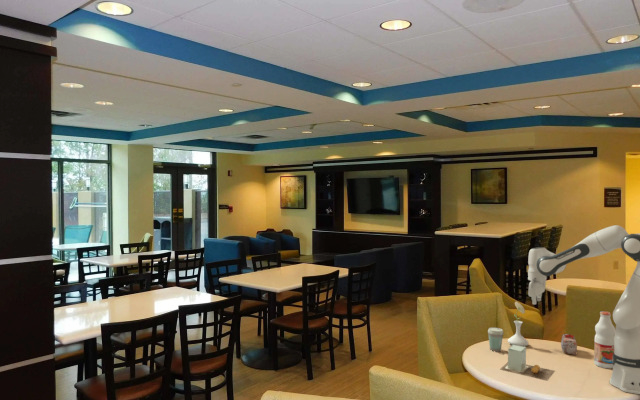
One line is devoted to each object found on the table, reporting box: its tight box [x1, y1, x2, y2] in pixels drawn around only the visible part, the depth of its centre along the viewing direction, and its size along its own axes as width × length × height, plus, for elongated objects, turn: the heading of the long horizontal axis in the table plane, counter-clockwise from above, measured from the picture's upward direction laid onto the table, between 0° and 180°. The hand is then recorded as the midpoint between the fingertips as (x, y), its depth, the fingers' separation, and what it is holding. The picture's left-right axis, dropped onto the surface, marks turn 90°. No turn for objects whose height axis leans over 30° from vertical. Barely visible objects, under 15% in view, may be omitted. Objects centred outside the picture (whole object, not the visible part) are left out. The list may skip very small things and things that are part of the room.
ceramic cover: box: [507, 344, 527, 371], centre depth 234 cm, size 6×8×10 cm
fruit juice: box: [593, 310, 616, 369], centre depth 241 cm, size 9×9×28 cm
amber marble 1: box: [531, 367, 538, 373], centre depth 227 cm, size 3×3×3 cm
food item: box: [560, 333, 578, 356], centre depth 262 cm, size 14×8×10 cm, turn 157°
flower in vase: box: [507, 301, 529, 347], centre depth 274 cm, size 13×11×25 cm
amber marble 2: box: [533, 364, 541, 371], centre depth 230 cm, size 3×3×3 cm
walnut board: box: [499, 361, 555, 382], centre depth 231 cm, size 22×16×1 cm
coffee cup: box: [487, 327, 505, 353], centre depth 263 cm, size 8×9×12 cm
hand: (536, 302), depth 247 cm, fingers open, 8 cm apart
